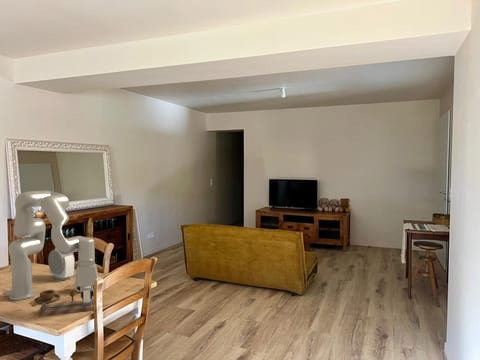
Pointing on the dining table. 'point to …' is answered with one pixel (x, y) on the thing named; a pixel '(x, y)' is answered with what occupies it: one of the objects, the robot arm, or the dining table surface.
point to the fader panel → (64, 308)
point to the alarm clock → (61, 265)
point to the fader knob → (86, 296)
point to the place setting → (50, 297)
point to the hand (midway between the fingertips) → (87, 298)
